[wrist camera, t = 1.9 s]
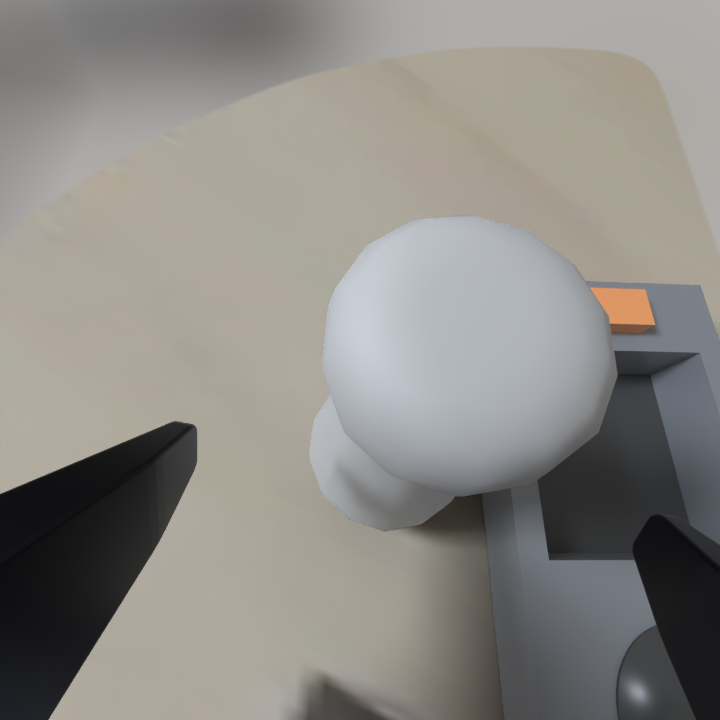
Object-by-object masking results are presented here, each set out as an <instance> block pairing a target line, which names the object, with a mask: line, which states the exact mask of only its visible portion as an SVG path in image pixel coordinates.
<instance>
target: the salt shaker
mask: <svg viewBox="0 0 720 720" xmlns="http://www.w3.org/2000/svg"><path fill="white" fill-rule="evenodd" d="M322 370H323V374H324V379H325V382H326V384H327V387H328V390H329V393H330V396H329V397H328V399H327V401H326V402H325V404H324V405H323V407H322V408H321V410H320V412H319V413H318V415H317V416H316V418H315V419H314V421H313V428H312V437H311V445H310V454H309V458H310V461H311V464H312V467H313V470H314V472H315V475H316V478H317V481H318V484H319V487H320V490H321V493H322V494H323V495H324V496H325V497H326V498H327V499H328V500H329V501H331V502H332V503H333V504H334V505H335V506H336V507H337V508H338V509H339V510H340V511H341V512H342V513H343V514H344V515H345V516H346V517H347V518H348V519H350V520H353V521H356V522H359V523H362V524H364V525H367V526H370V527H373V528H376V529H379V530H382V531H389V530H395V529H400V528H405V527H411V526H416V525H421V524H422V523H424V522H425V521H426V520H428V519H429V518H430V517H432V516H433V515H434V514H436V513H437V512H439V511H440V510H441V509H443V508H444V507H445V506H447V505H448V504H449V503H451V501H452V500H453V499H454V498H455V496H462V497H463V496H469V495H475V494H480V493H486V492H492V491H497V490H503V489H509V488H514V487H520V486H526V485H530V484H531V483H533V482H535V481H536V480H538V479H539V478H541V477H542V476H544V475H545V474H547V473H548V472H550V471H551V470H552V469H553V468H555V467H556V466H557V465H558V464H560V463H561V462H562V461H563V460H565V459H566V458H567V457H569V456H570V455H571V454H572V453H574V452H575V451H576V450H577V449H579V448H580V447H581V446H582V445H584V444H585V443H586V442H587V441H589V440H590V439H591V438H593V437H594V436H595V435H596V434H598V433H599V430H600V427H601V424H602V421H603V418H604V415H605V412H606V409H607V406H608V403H609V400H610V397H611V394H612V391H613V388H614V385H615V382H616V379H617V376H618V374H617V367H616V360H615V354H614V347H613V340H612V334H611V327H610V321H609V316H608V314H607V313H606V311H605V310H604V308H603V307H602V305H601V304H600V302H599V301H598V299H597V298H596V296H595V295H594V293H593V292H592V290H591V289H590V288H589V286H588V285H587V283H586V282H585V280H584V279H583V277H582V276H581V274H580V273H579V271H578V270H577V268H576V267H575V265H574V264H573V263H572V262H570V261H569V260H568V259H566V258H565V257H563V256H562V255H561V254H559V253H558V252H557V251H555V250H554V249H553V248H551V247H550V246H548V245H547V244H546V243H544V242H543V241H542V240H540V239H539V238H538V237H536V236H535V235H534V234H532V233H531V232H529V231H528V230H525V229H521V228H517V227H514V226H510V225H506V224H503V223H499V222H496V221H492V220H488V219H485V218H481V217H477V216H473V215H463V216H450V217H436V218H422V219H413V220H412V221H410V222H408V223H406V224H404V225H403V226H401V227H399V228H397V229H395V230H394V231H392V232H390V233H388V234H386V235H384V236H383V237H381V238H379V239H377V240H375V241H374V242H372V243H370V244H368V245H366V247H365V248H364V250H363V251H362V252H361V254H360V255H359V257H358V258H357V259H356V261H355V262H354V264H353V265H352V266H351V268H350V269H349V270H348V272H347V273H346V275H345V276H344V277H343V279H342V280H341V282H340V283H339V284H338V286H337V287H336V289H335V290H334V293H333V295H332V298H331V301H330V304H329V307H328V310H327V320H326V330H325V339H324V349H323V359H322Z"/></svg>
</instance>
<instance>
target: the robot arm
mask: <svg viewBox="0 0 720 720" xmlns="http://www.w3.org/2000/svg"><path fill="white" fill-rule="evenodd" d="M196 463H197V429H196V427H195V426H194V425H193V424H189V423H183V422H178V421H174V422H171V423H168V424H166V425H164V426H161V427H159V428H156V429H154V430H152V431H149V432H147V433H145V434H142V435H140V436H137V437H135V438H133V439H130V440H128V441H126V442H123V443H121V444H118V445H116V446H114V447H111V448H109V449H106V450H104V451H102V452H99V453H97V454H95V455H92V456H90V457H87V458H85V459H83V460H80V461H78V462H75V463H73V464H71V465H68V466H66V467H64V468H61V469H59V470H56V471H54V472H52V473H49V474H47V475H44V476H42V477H40V478H37V479H35V480H33V481H30V482H28V483H25V484H23V485H21V486H18V487H16V488H13V489H11V490H9V491H6V492H4V493H1V494H0V720H48V719H49V718H50V716H51V715H52V713H53V711H54V710H55V708H56V707H57V705H58V703H59V702H60V700H61V699H62V697H63V695H64V694H65V692H66V691H67V689H68V687H69V686H70V684H71V683H72V681H73V679H74V678H75V676H76V675H77V673H78V671H79V670H80V668H81V667H82V665H83V663H84V662H85V660H86V659H87V657H88V655H89V654H90V652H91V651H92V649H93V647H94V646H95V644H96V643H97V641H98V639H99V638H100V636H101V635H102V633H103V631H104V630H105V628H106V627H107V625H108V623H109V622H110V620H111V619H112V617H113V615H114V614H115V612H116V611H117V609H118V607H119V606H120V604H121V603H122V601H123V599H124V598H125V596H126V595H127V593H128V591H129V590H130V588H131V587H132V585H133V583H134V582H135V580H136V579H137V577H138V575H139V574H140V572H141V571H142V569H143V567H144V566H145V564H146V563H147V561H148V559H149V558H150V556H151V555H152V553H153V551H154V550H155V548H156V546H157V545H158V543H159V541H160V539H161V537H162V535H163V533H164V531H165V530H166V527H167V525H168V523H169V521H170V519H171V517H172V515H173V513H174V511H175V509H176V507H177V505H178V503H179V501H180V499H181V497H182V495H183V492H184V490H185V488H186V486H187V484H188V482H189V480H190V478H191V476H192V474H193V472H194V470H195V467H196ZM632 551H633V557H634V560H635V563H636V566H637V569H638V572H639V575H640V578H641V581H642V584H643V587H644V590H645V593H646V596H647V599H648V602H649V605H650V608H651V611H652V614H653V617H654V620H655V623H656V626H657V628H658V631H659V634H660V637H661V639H662V642H663V644H664V647H665V649H666V652H667V654H668V656H669V659H670V661H671V663H672V666H673V668H674V670H675V673H676V675H677V677H678V680H679V682H680V684H681V686H682V689H683V691H684V693H685V696H686V698H687V700H688V703H689V705H690V707H691V710H692V712H693V714H694V716H695V719H696V720H720V545H719V544H718V543H716V542H715V541H713V540H712V539H710V538H709V537H707V536H706V535H704V534H703V533H701V532H700V531H698V530H697V529H695V528H694V527H692V526H691V525H689V524H688V523H686V522H685V521H683V520H682V519H680V518H678V517H675V516H670V515H664V514H659V513H657V514H653V515H652V516H650V517H649V518H648V520H647V522H646V523H645V525H644V526H643V528H642V530H641V531H640V533H639V534H638V536H637V537H636V539H635V541H634V543H633V549H632Z"/></svg>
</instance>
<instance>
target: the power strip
mask: <svg viewBox="0 0 720 720" xmlns="http://www.w3.org/2000/svg"><path fill="white" fill-rule="evenodd" d="M585 282H586V283H587V285H588V286H589V288H590V289H591V290H592V292H593V293H594V295H595V296H596V298H597V299H598V301H599V302H600V304H601V305H602V307H603V308H604V310H605V311H606V313H607V314H608V316H609V321H610V327H611V334H612V340H613V347H614V354H615V360H616V367H617V374H618V376H617V379H616V382H615V385H614V388H613V391H612V394H611V397H610V400H609V403H608V406H607V409H606V412H605V415H604V418H603V421H602V424H601V427H600V430H599V433H598V434H596V435H595V436H594V437H593V438H591V439H590V440H589V441H587V442H586V443H585V444H584V445H582V446H581V447H580V448H579V449H577V450H576V451H575V452H574V453H572V454H571V455H570V456H569V457H567V458H566V459H565V460H563V461H562V462H561V463H560V464H558V465H557V466H556V467H555V468H553V469H552V470H551V471H550V472H548V473H547V474H545V475H544V476H542V477H541V478H539V479H538V480H536V481H535V482H533V483H531V484H530V485H526V486H520V487H514V488H509V489H503V490H497V491H492V492H486V493H482V502H483V512H484V522H485V532H486V542H487V552H488V562H489V573H490V583H491V593H492V603H493V613H494V623H495V633H496V643H497V653H498V663H499V673H500V683H501V694H502V704H503V714H504V720H696V719H695V716H694V714H693V712H692V710H691V707H690V705H689V703H688V700H687V698H686V696H685V693H684V691H683V689H682V686H681V684H680V682H679V680H678V677H677V675H676V673H675V670H674V668H673V666H672V663H671V661H670V659H669V656H668V654H667V652H666V649H665V647H664V644H663V642H662V639H661V637H660V634H659V631H658V628H657V626H656V623H655V620H654V617H653V614H652V611H651V608H650V605H649V602H648V599H647V596H646V593H645V590H644V587H643V584H642V581H641V578H640V575H639V572H638V569H637V566H636V563H635V560H634V557H633V551H632V549H633V543H634V541H635V539H636V537H637V536H638V534H639V533H640V531H641V530H642V528H643V526H644V525H645V523H646V522H647V520H648V518H649V517H650V516H652V515H653V514H657V513H659V514H664V515H670V516H675V517H678V518H680V519H682V520H683V521H685V522H686V523H688V524H689V525H691V526H692V527H694V528H695V529H697V530H698V531H700V532H701V533H703V534H704V535H706V536H707V537H709V538H710V539H712V540H713V541H715V542H716V543H718V544H719V545H720V342H719V339H718V336H717V333H716V330H715V328H714V325H713V322H712V319H711V316H710V313H709V310H708V307H707V304H706V301H705V298H704V295H703V292H702V289H701V286H700V285H677V284H648V283H620V282H591V281H585Z"/></svg>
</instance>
